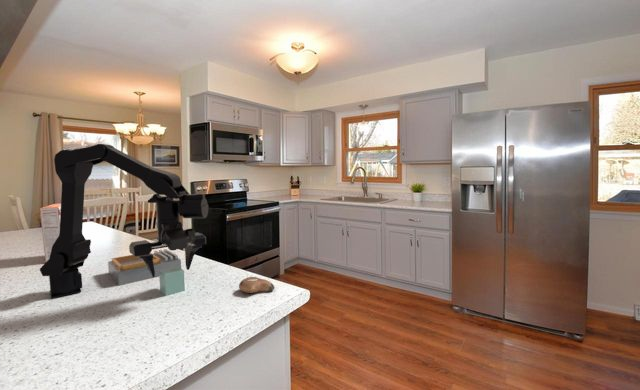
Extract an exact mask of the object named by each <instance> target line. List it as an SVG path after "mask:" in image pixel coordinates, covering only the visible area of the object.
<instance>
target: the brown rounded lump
mask: <svg viewBox="0 0 640 390" xmlns="http://www.w3.org/2000/svg"><path fill="white" fill-rule="evenodd" d="M275 288H276V287H275V285H274V284H273V283H272V282H271V281H269V280H267V279H264V278H260V277H257V276H249V277H248V276H247V277H246V278H244V279H242V280H241V281H240V282H239V285H238V289H239V290H240V291H241V292H243V293H246V294H255V293H262V292H266V293H267V292H271V291H273V290H275Z"/></svg>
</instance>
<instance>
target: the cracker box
mask: <svg viewBox="0 0 640 390" xmlns="http://www.w3.org/2000/svg"><path fill="white" fill-rule="evenodd" d="M60 212H61V203H53V204H50V205H46V206H43V207H40V208H39V214H40V223H41V233H42V241H43V252H44V261H45V263H46V262H47V261H48V260H49V259H50V253H51V249H52V246H53V244H54V243H55V241H56V239H57V238H58V236H59V233H60ZM45 263H44V264H45Z"/></svg>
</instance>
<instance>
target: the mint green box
mask: <svg viewBox="0 0 640 390" xmlns="http://www.w3.org/2000/svg"><path fill="white" fill-rule="evenodd" d="M158 277H159V292H161V293H162V294H163V295H164V296H166V297H168V296H171V295H174V294H179V293H181V292H184V291H186V287H185V286H186V285H185V270H184V269H182V267H181V268H179V267H178V266H177V267H172V268H168V269H163V270H159V276H158Z"/></svg>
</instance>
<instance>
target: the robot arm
mask: <svg viewBox="0 0 640 390" xmlns="http://www.w3.org/2000/svg"><path fill="white" fill-rule="evenodd" d="M53 157H54V158H53V161H54V163H53V164H54V169H55V173H56V175H57V177H58V179H59V180H60V182H61V190H60V191H61V195H60V204H61V212H60V233H59V236H58V238H57V239H56V241H55V243H54V244H53V246H52V249H51V253H50V259H49V260H48V261H47V262H46V263H43V265H42V266H41V267H40V268H39V271H40V274H41V275H42V277H48V281H49V296H50V299H56V298H60V297H65V296H68V295H74V294H79V293H82V288H83V278H82V277H83V276H82V275H83V274H82V273H81V272H80V271H79V268H82V267H83V266H84V263H85V260H86V259H88V258H89V254H91V253H92V251H91V245H92V241H91V239H86V238H85V236H84V235H83V224H84V223H83V222H84V220H83V218H84V204H85V184H86V183H87V181H88V179H89V178H90V176H91V175H92V171H93V167H94V166H96V165H99V164H102V163H104V162H106V163H108V164H110V165H112V166H114V167H116V168H118V169H120V170H122V171H124V172H125V173H127V174H129V175H131V176H134V177H135V178H137V179H139V180H140V181H142V182H143V184H144V185H145V186H146V187H147V188H148V189H150V190H151V191H152V192H154V194H153V195H152V196H151V197H149V199H148V200H147V203H149V204H155V206H156V221H155V225H156V228H157V229H156V230H157V236H156V241H153V242H152V241H151V242H150V241H149V240H145V239H144V240H137V241H132V242H130V244H129V246H128V249H129V251H128V252H129V254H130V255H134V256H138V257H139V258H142V259H143V260H144V262H145V264H146V265H147V268H148V270H149V272H150V274H151V276H152V277H153V278H152V279H154V278H156V277H155V271H154V264H153V254H154V253H152V251H154V250H160V249H165V248H167V250H169V251H176V250H179V249H184V251H185V252H184V253H185V254H184V256H185V257H184V258H185V259H184V260H185V267H186V270H188V271H190V268H191V265H192V261H193V259H194V256H195V254H196V253H197V251H198V250H199V249H200V248H202V247H203V245H207V236H205V235H204V234H203V233H201V232H196V231H195V228H193V227H192V228H186V229H184V228H183V224H182V222H181V217H182V218H183V219H206V218H207V217H208V215H209V204H208V200H207V198H206V194H205V193H197V194H196V193H195V194H194V193H193V194H192V193H191V194H190V193H189V191H188V190H187V189H186V187H185V186H184V184H182V181H181V178H180V176H179V175H178V174H176V173H172V172H170V171H167V170H164V169H159V168H155V167H152V166H150V165H148V164H146V163H144V162H142V161H140V160H138V159H137V158H135V157H133V156H131V155H129V154H127V153H125V152H124V151H121V150H119V149H117V148H115V146H113V145H111V144H106V143H98V144H94V145H91V146H85V147H82V148H81V147H80V148H75V149H61V150H60V151H58V152H57V153H55V155H54V156H53ZM151 253H152V254H151Z"/></svg>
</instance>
